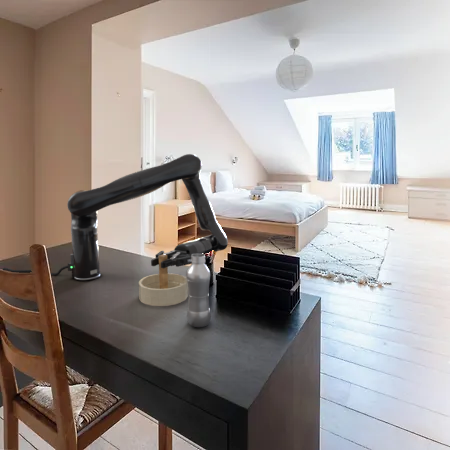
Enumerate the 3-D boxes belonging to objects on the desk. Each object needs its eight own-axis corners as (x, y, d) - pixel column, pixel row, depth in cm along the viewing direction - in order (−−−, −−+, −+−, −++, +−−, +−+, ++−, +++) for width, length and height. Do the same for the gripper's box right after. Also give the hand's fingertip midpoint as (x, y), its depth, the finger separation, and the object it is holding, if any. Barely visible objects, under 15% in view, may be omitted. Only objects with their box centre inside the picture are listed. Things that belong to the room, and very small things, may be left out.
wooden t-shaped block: (155, 296, 116) (154, 255, 114) (160, 293, 118) (159, 253, 116) (167, 299, 114) (166, 257, 111) (172, 296, 116) (171, 255, 113)
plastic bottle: (207, 331, 94) (207, 259, 90) (183, 328, 95) (182, 257, 92) (213, 320, 100) (213, 252, 97) (190, 318, 102) (189, 251, 98)
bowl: (131, 305, 110) (130, 287, 109) (150, 288, 125) (150, 271, 124) (179, 310, 107) (179, 291, 106) (193, 291, 122) (192, 274, 121)
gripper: (173, 239, 129) (140, 249, 114) (206, 244, 122) (174, 256, 107) (174, 259, 130) (140, 271, 116) (206, 265, 123) (174, 279, 109)
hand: (157, 264), depth 111 cm, fingers open, 3 cm apart
